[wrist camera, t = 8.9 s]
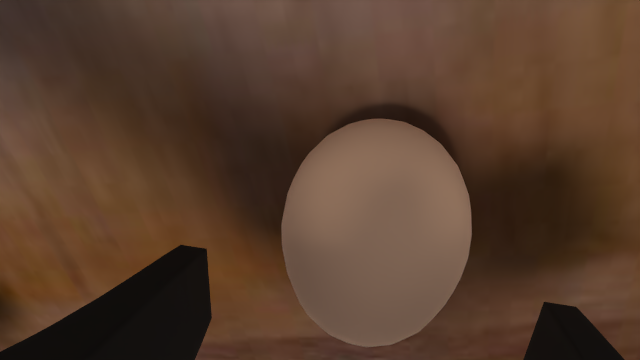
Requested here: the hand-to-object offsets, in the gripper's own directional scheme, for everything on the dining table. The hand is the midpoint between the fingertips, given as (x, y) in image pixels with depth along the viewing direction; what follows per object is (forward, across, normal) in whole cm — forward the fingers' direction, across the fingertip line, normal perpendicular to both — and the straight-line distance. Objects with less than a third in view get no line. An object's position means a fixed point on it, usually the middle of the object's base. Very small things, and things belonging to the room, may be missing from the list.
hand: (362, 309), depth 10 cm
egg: (+8, 0, 0) cm, 8 cm away
